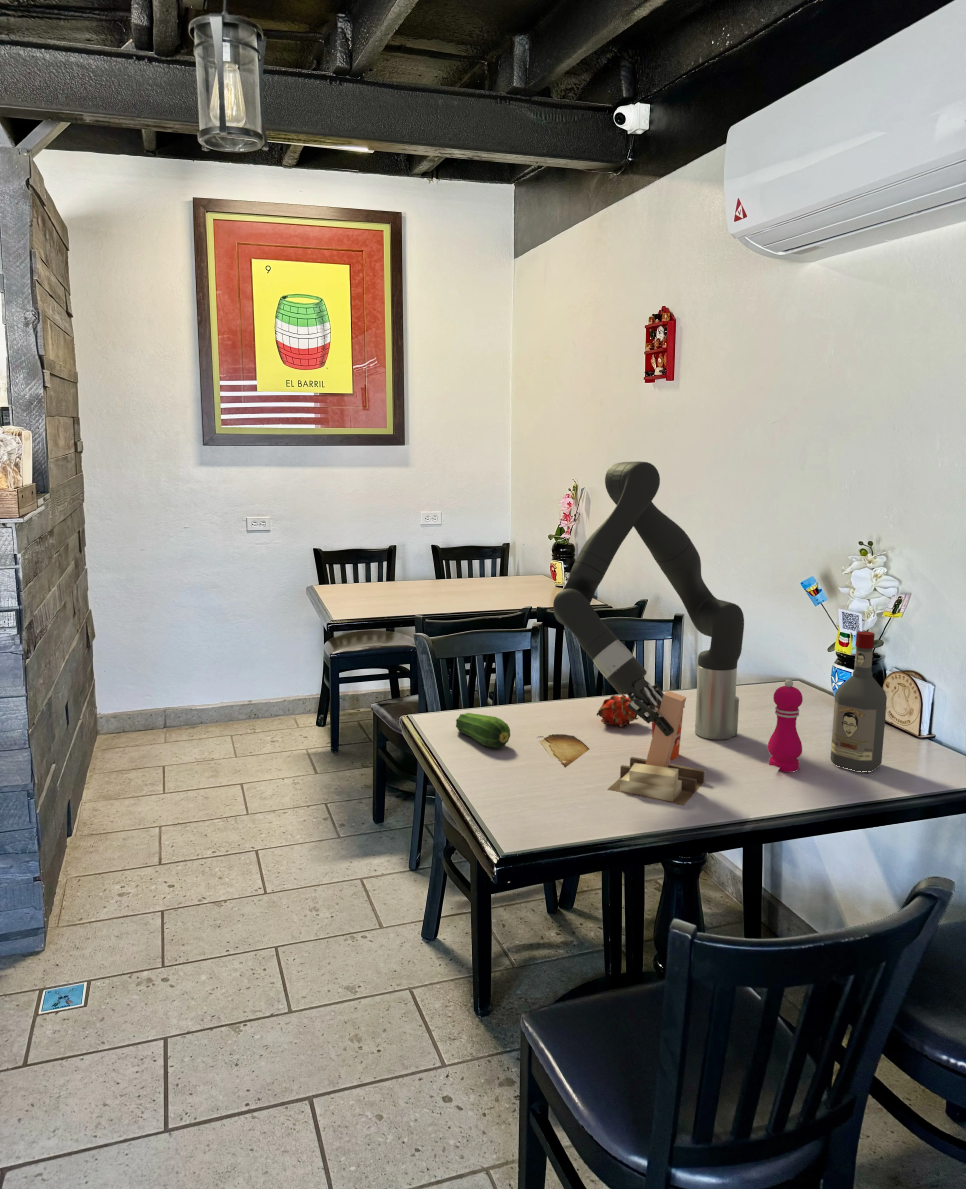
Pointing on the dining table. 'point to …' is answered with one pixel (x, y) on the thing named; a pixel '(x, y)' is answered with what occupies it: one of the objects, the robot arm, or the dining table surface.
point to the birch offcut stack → (652, 781)
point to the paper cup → (677, 741)
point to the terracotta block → (660, 742)
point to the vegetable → (484, 729)
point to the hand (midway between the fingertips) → (673, 731)
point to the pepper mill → (786, 729)
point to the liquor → (859, 713)
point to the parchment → (564, 747)
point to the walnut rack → (687, 775)
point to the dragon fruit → (616, 711)
